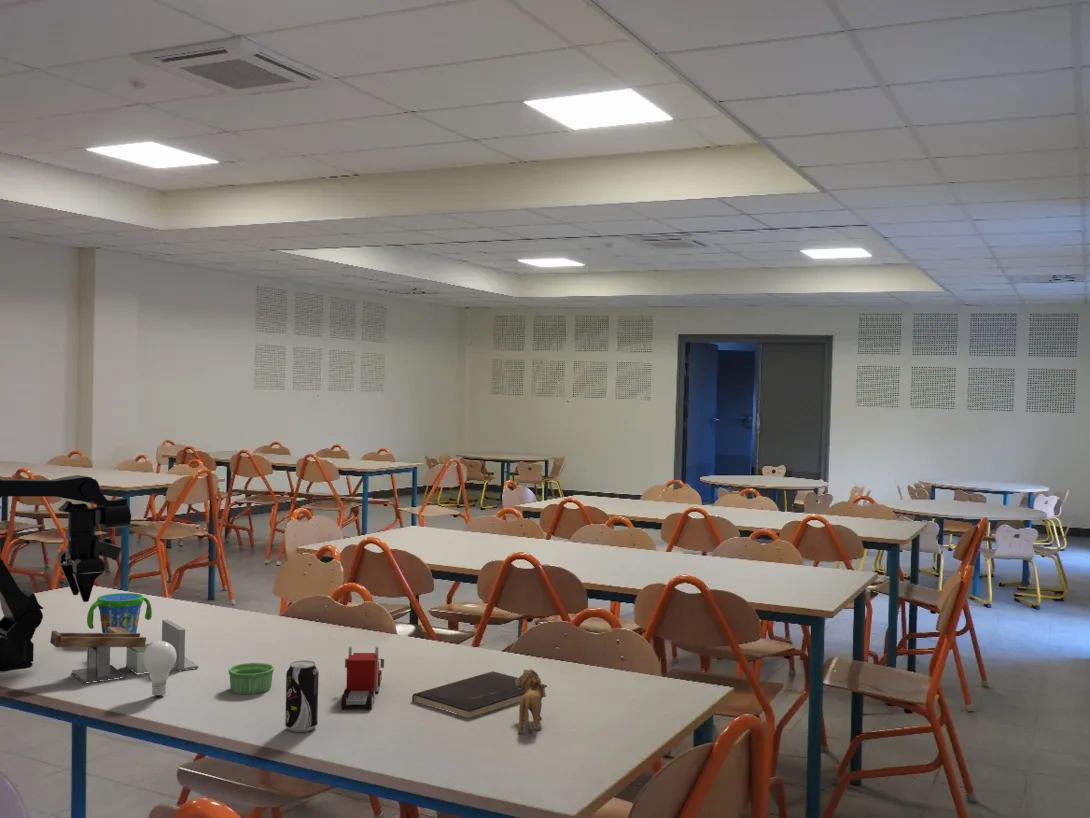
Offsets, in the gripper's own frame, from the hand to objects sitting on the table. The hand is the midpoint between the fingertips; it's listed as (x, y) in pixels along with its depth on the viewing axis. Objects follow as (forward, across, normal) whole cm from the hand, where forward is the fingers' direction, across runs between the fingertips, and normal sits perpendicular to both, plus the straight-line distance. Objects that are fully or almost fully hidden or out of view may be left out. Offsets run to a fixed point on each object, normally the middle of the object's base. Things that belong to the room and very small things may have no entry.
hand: (80, 598), depth 231 cm
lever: (+7, -14, +1) cm, 15 cm away
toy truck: (+14, -64, -38) cm, 76 cm away
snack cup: (+13, +12, -12) cm, 22 cm away
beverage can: (+13, -76, -20) cm, 80 cm away
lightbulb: (+13, -42, -5) cm, 44 cm away
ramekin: (+13, -47, -22) cm, 54 cm away
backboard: (+13, -20, -16) cm, 29 cm away
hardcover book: (+14, -78, -58) cm, 98 cm away
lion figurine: (+13, -97, -56) cm, 113 cm away
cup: (+13, -20, -10) cm, 26 cm away
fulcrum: (+13, -20, +1) cm, 24 cm away
